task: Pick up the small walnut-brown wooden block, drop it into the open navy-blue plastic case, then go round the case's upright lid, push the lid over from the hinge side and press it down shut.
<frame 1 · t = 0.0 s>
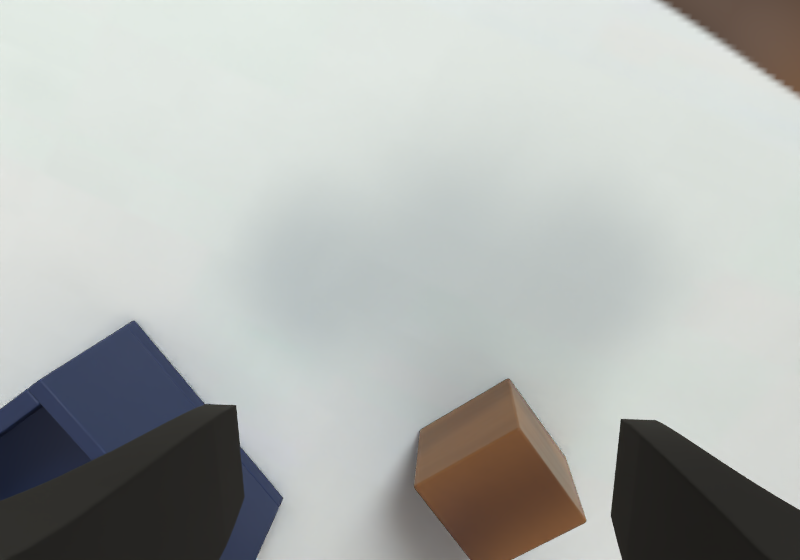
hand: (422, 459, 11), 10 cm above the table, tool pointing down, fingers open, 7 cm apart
block: (492, 443, 22), on the table
case: (103, 483, 24), on the table
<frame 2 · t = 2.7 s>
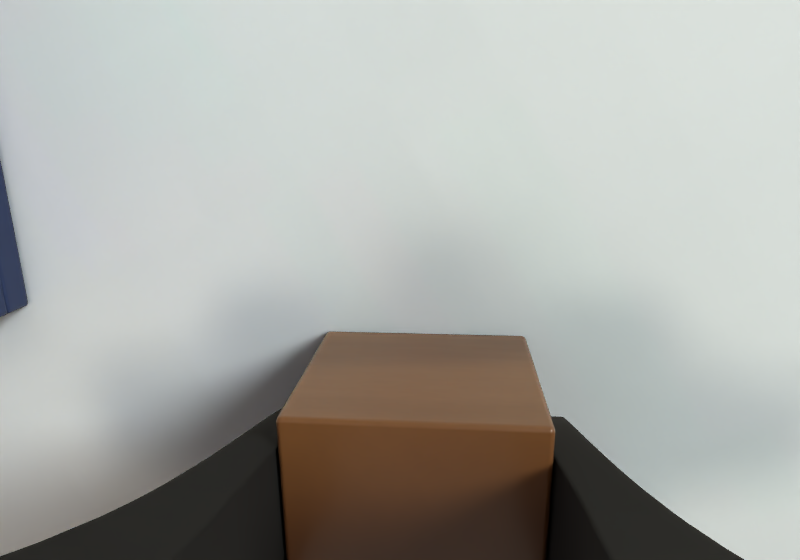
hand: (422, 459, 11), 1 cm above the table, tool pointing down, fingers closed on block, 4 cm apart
block: (424, 421, 12), on the table, touching gripper
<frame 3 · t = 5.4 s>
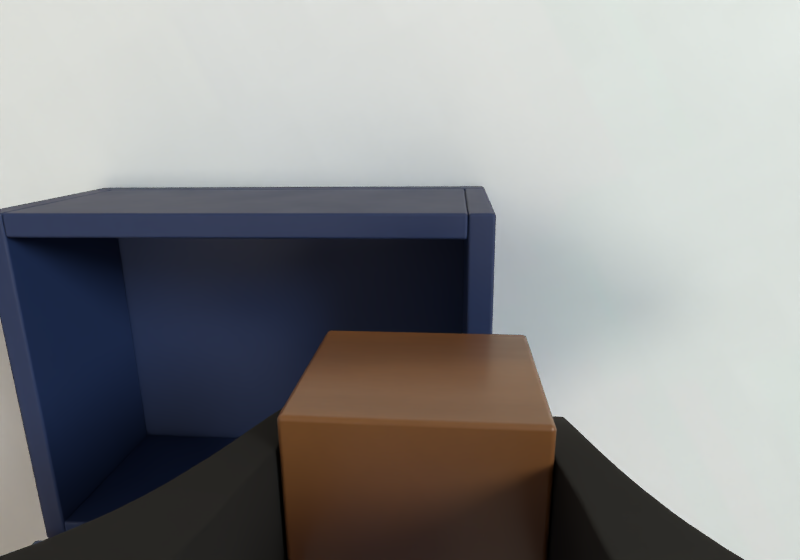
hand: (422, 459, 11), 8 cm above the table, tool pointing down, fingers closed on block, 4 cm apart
block: (425, 420, 12), point 7 cm above the table, touching gripper
case: (297, 324, 19), on the table
when the fingers open (2 cm above the table, at t = 8.0 s): block stays where it is, resting on case.
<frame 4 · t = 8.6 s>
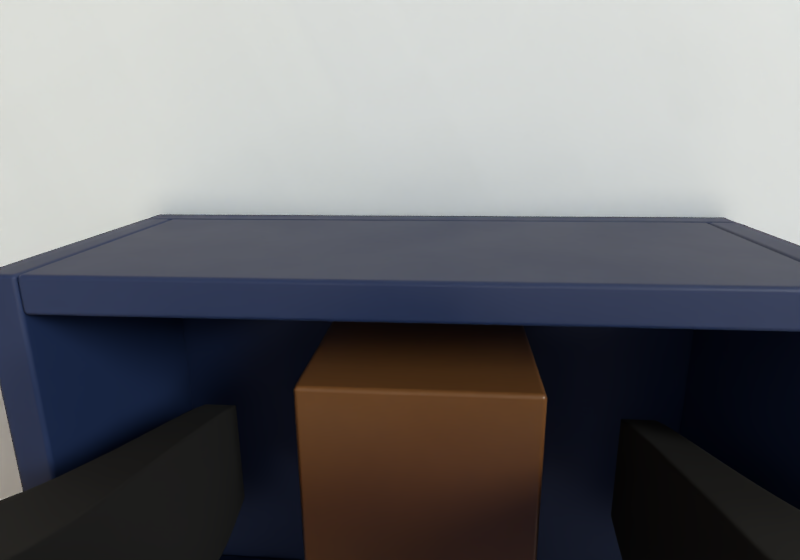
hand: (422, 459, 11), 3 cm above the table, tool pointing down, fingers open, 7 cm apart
block: (427, 399, 13), point 1 cm above the table, touching case
case: (428, 407, 14), on the table
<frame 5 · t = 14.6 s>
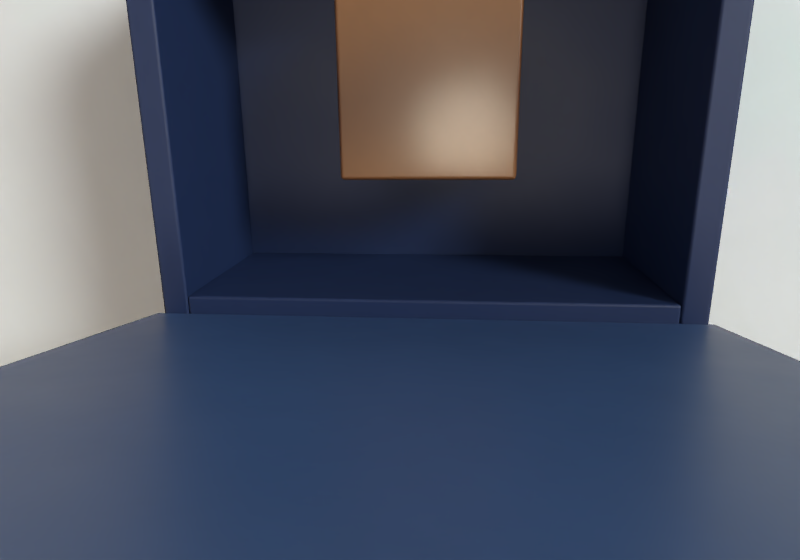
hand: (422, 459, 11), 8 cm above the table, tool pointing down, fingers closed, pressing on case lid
block: (433, 94, 16), point 1 cm above the table, touching case
case lid: (407, 405, 8), point 10 cm above the table, hinge at 81.0°, touching gripper
case: (434, 114, 17), on the table
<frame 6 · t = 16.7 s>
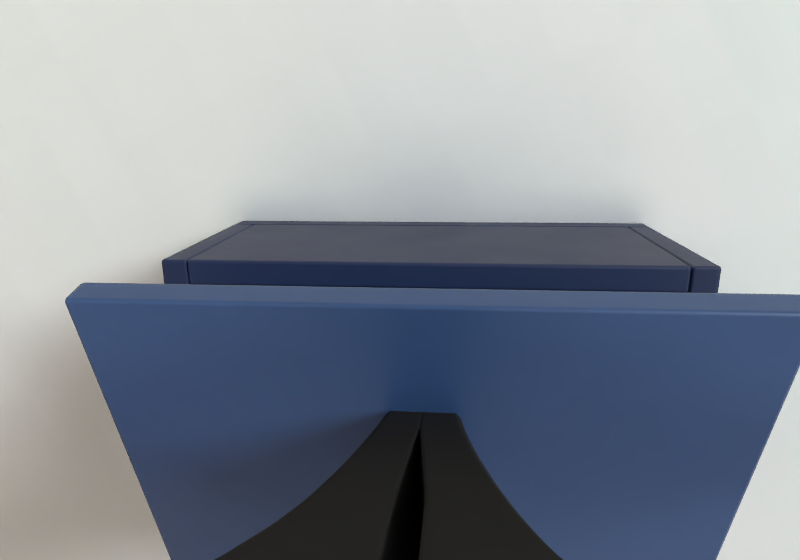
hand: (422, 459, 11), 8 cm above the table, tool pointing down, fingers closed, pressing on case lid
case lid: (425, 491, 12), point 7 cm above the table, hinge at 16.3°, touching gripper
case: (435, 361, 19), on the table
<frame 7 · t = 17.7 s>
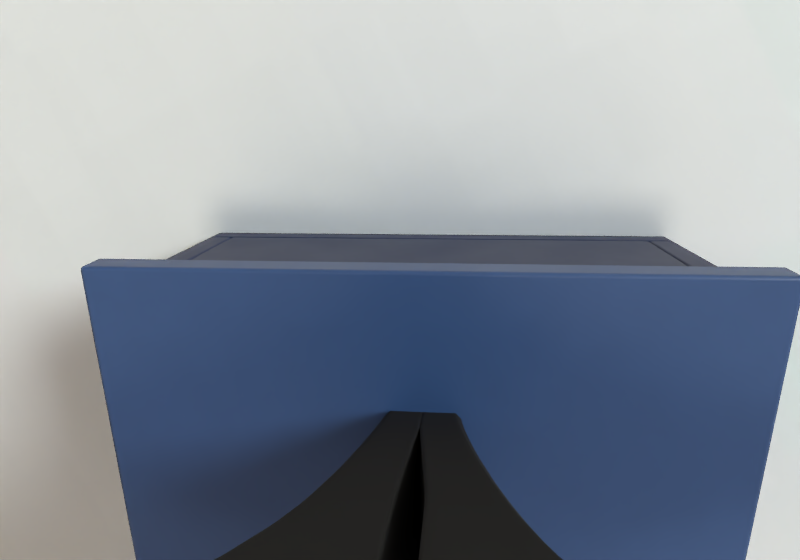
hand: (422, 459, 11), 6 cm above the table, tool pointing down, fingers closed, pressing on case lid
case lid: (423, 503, 11), point 6 cm above the table, hinge at 2.2°, touching gripper
case: (433, 387, 17), on the table
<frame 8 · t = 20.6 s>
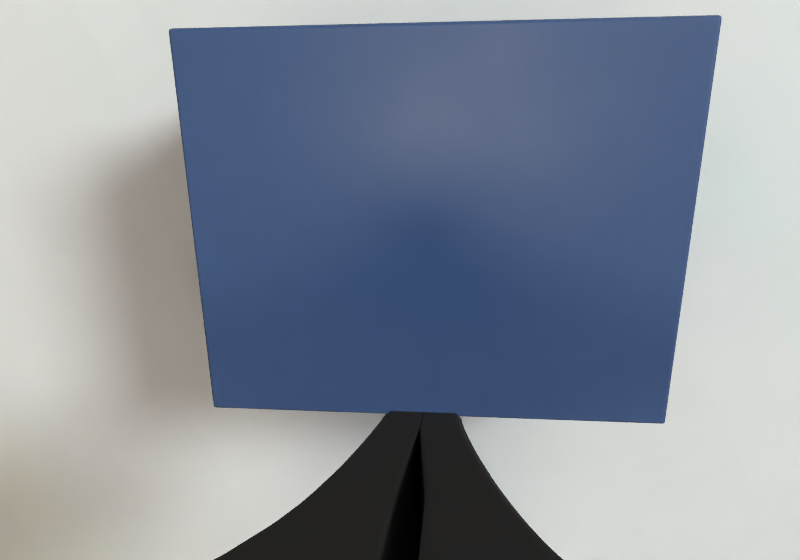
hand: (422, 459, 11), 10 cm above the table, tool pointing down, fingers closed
case lid: (432, 236, 14), point 6 cm above the table, hinge at 1.5°
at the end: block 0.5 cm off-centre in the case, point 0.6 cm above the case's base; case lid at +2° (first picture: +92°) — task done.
